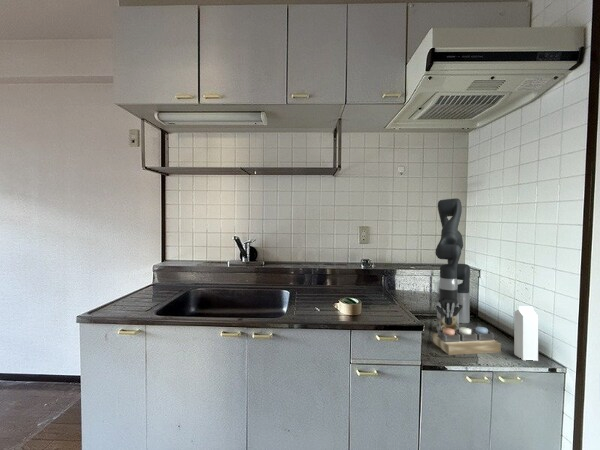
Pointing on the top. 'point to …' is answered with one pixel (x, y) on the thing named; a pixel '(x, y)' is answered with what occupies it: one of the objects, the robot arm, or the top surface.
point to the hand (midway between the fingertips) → (448, 324)
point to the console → (467, 343)
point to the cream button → (464, 330)
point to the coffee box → (441, 321)
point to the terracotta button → (448, 331)
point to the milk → (526, 333)
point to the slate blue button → (481, 330)
